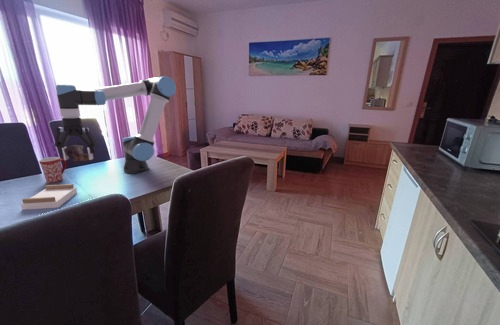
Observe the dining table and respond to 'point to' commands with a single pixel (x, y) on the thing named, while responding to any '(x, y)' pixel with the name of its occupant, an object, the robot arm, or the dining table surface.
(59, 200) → the display stand
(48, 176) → the mug
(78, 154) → the rock
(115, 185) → the dining table surface
